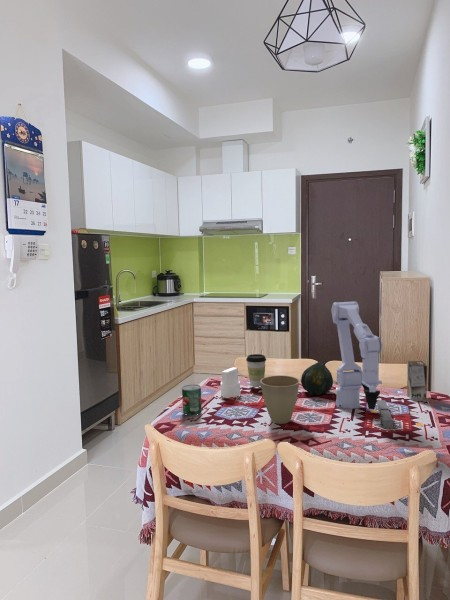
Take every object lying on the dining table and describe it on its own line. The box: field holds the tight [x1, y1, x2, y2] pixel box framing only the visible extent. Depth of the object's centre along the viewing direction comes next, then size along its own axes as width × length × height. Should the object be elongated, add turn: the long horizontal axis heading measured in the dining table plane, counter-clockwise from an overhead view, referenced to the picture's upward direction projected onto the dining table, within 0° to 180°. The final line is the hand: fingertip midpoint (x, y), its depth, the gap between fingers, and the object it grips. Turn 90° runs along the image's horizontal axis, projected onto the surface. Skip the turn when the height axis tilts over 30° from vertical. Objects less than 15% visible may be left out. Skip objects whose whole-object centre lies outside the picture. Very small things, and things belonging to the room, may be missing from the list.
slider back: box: [376, 399, 389, 417], centre depth 180 cm, size 3×10×3 cm, turn 167°
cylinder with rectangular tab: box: [220, 366, 241, 398], centre depth 211 cm, size 9×9×12 cm
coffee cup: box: [245, 353, 267, 387], centre depth 224 cm, size 10×10×15 cm
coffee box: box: [406, 360, 428, 402], centre depth 195 cm, size 9×6×16 cm
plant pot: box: [260, 374, 300, 425], centre depth 177 cm, size 15×15×16 cm
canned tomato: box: [181, 384, 203, 416], centre depth 190 cm, size 8×8×11 cm
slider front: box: [380, 410, 394, 429], centre depth 168 cm, size 3×10×3 cm, turn 167°
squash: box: [300, 361, 334, 396], centre depth 211 cm, size 14×15×15 cm
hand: (370, 405), depth 170 cm, fingers open, 7 cm apart
